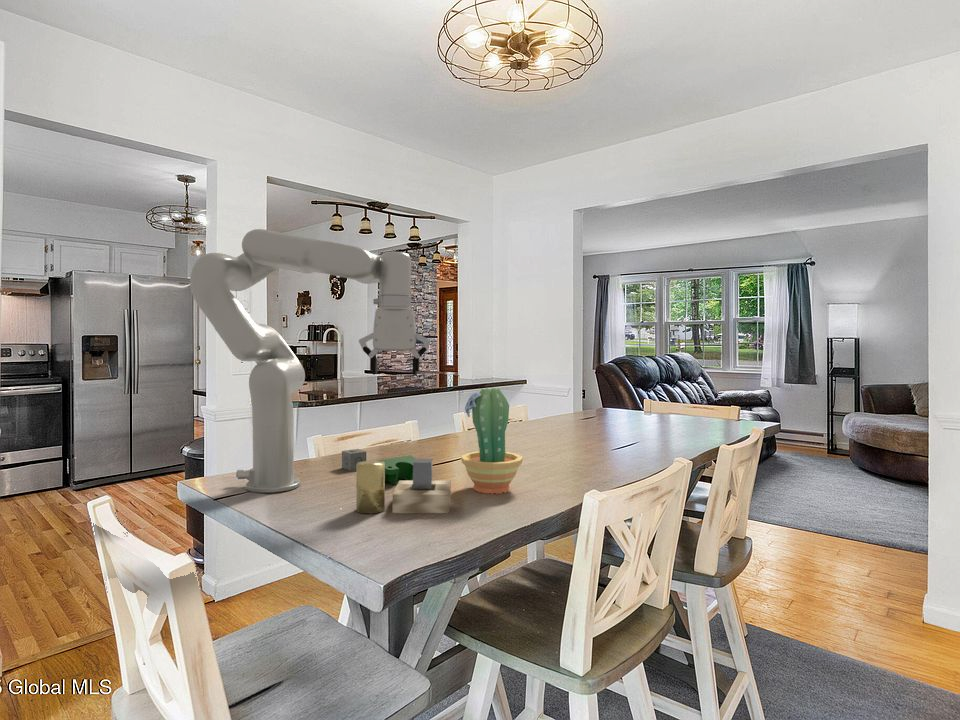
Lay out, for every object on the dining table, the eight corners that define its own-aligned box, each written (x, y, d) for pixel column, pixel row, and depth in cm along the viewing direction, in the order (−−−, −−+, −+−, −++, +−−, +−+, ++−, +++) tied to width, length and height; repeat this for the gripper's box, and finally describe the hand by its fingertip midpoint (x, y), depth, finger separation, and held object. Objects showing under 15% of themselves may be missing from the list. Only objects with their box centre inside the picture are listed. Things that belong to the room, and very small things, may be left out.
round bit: (352, 512, 122) (352, 465, 122) (361, 505, 127) (361, 460, 128) (380, 513, 121) (380, 466, 121) (387, 506, 127) (387, 461, 127)
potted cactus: (480, 478, 153) (481, 384, 152) (533, 486, 146) (534, 387, 145) (448, 491, 140) (449, 388, 139) (504, 500, 132) (506, 392, 131)
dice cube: (341, 468, 164) (341, 450, 163) (357, 465, 167) (357, 448, 167) (350, 471, 160) (350, 453, 160) (366, 469, 163) (366, 451, 163)
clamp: (389, 501, 146) (382, 473, 142) (376, 491, 150) (369, 464, 146) (426, 478, 153) (421, 450, 148) (413, 468, 157) (407, 441, 152)
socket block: (392, 513, 122) (392, 494, 122) (399, 497, 134) (399, 480, 134) (449, 513, 123) (449, 494, 122) (450, 497, 135) (450, 480, 134)
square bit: (412, 507, 126) (413, 462, 126) (414, 502, 130) (414, 458, 130) (431, 507, 127) (431, 462, 126) (431, 502, 130) (432, 458, 130)
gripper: (356, 302, 135) (356, 375, 136) (430, 303, 136) (429, 375, 137) (362, 304, 143) (361, 373, 144) (431, 305, 143) (431, 373, 144)
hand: (394, 374), depth 140 cm, fingers open, 9 cm apart
